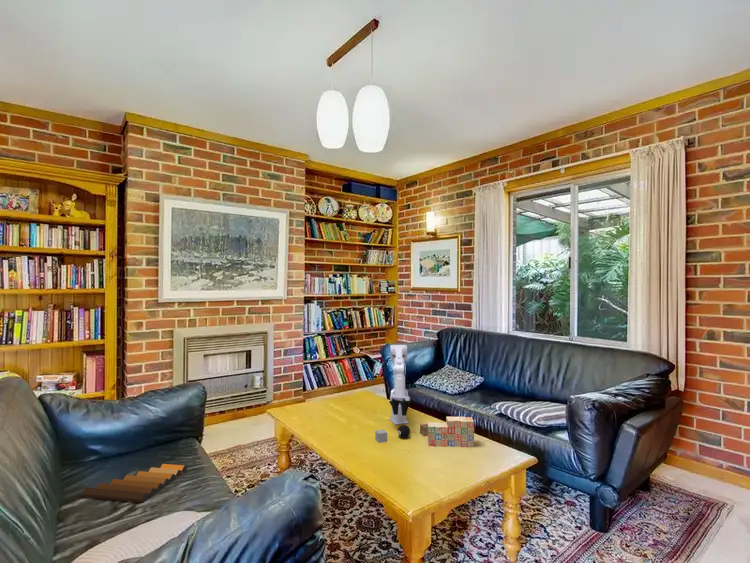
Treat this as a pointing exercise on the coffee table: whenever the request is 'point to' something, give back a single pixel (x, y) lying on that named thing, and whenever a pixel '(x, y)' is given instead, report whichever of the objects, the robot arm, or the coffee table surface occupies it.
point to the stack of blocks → (452, 432)
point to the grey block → (381, 436)
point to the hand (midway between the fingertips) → (399, 415)
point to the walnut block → (424, 429)
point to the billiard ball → (403, 431)
